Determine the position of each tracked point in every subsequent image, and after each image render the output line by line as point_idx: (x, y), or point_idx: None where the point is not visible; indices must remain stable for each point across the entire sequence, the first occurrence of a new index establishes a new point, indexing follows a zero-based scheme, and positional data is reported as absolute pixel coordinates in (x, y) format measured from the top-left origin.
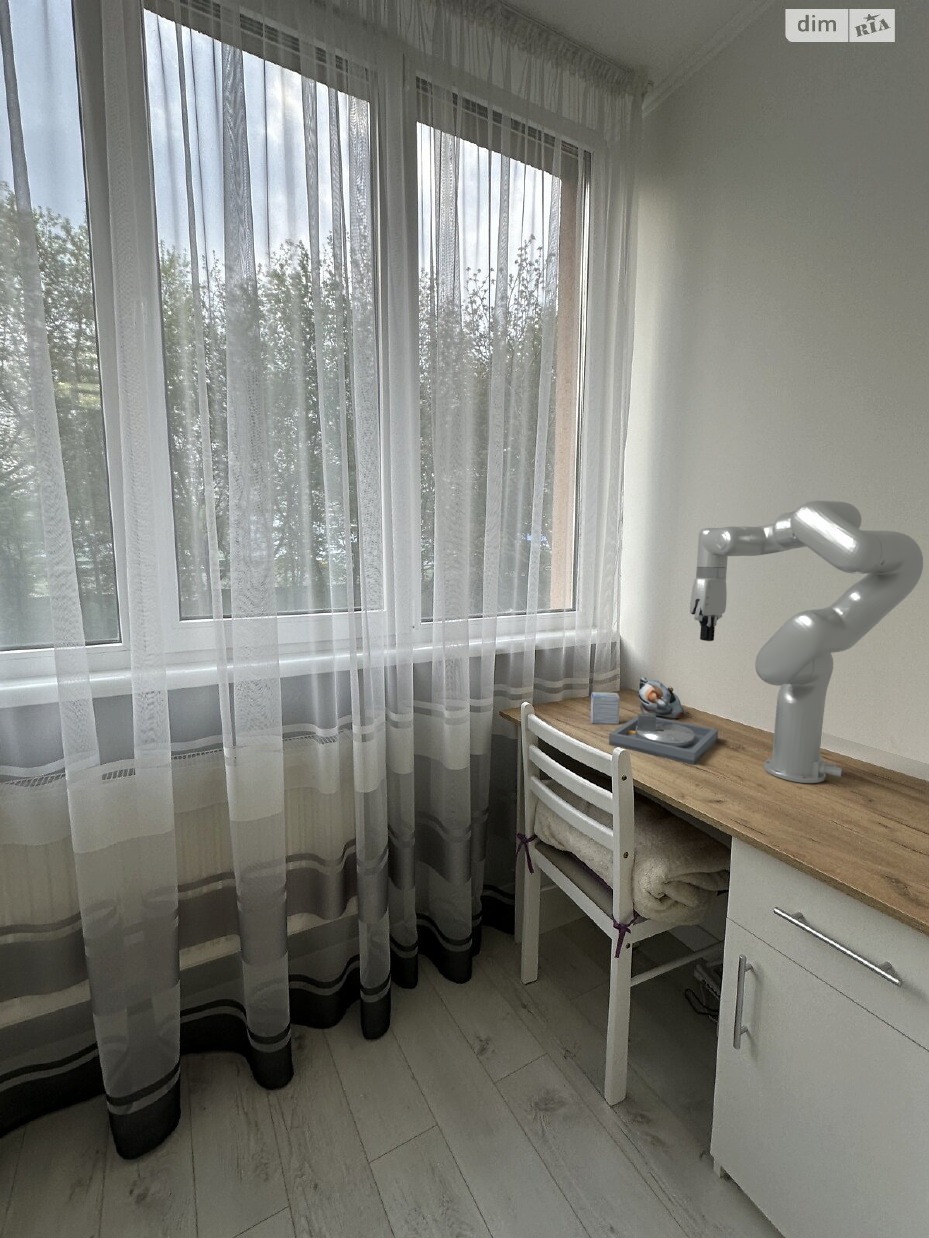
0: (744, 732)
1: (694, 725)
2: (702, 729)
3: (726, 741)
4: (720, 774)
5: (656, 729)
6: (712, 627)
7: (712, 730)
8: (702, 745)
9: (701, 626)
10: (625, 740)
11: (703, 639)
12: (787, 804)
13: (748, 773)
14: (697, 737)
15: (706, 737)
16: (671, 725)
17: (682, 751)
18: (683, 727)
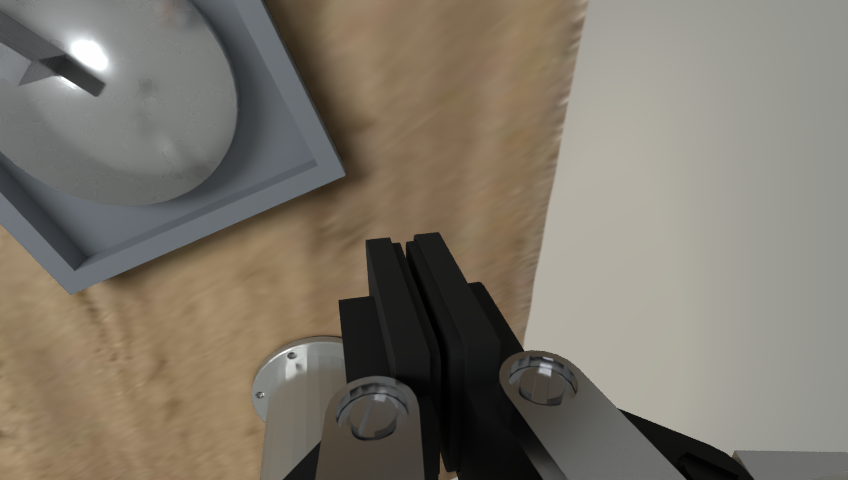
0: (488, 154)
1: (299, 99)
2: (303, 136)
3: (359, 184)
4: (121, 340)
5: (65, 70)
6: (449, 470)
7: (316, 172)
8: (156, 257)
9: (390, 359)
10: None
11: (369, 281)
12: (151, 470)
13: (205, 357)
14: (266, 139)
15: (232, 213)
16: (188, 58)
17: (42, 263)
18: (221, 105)
